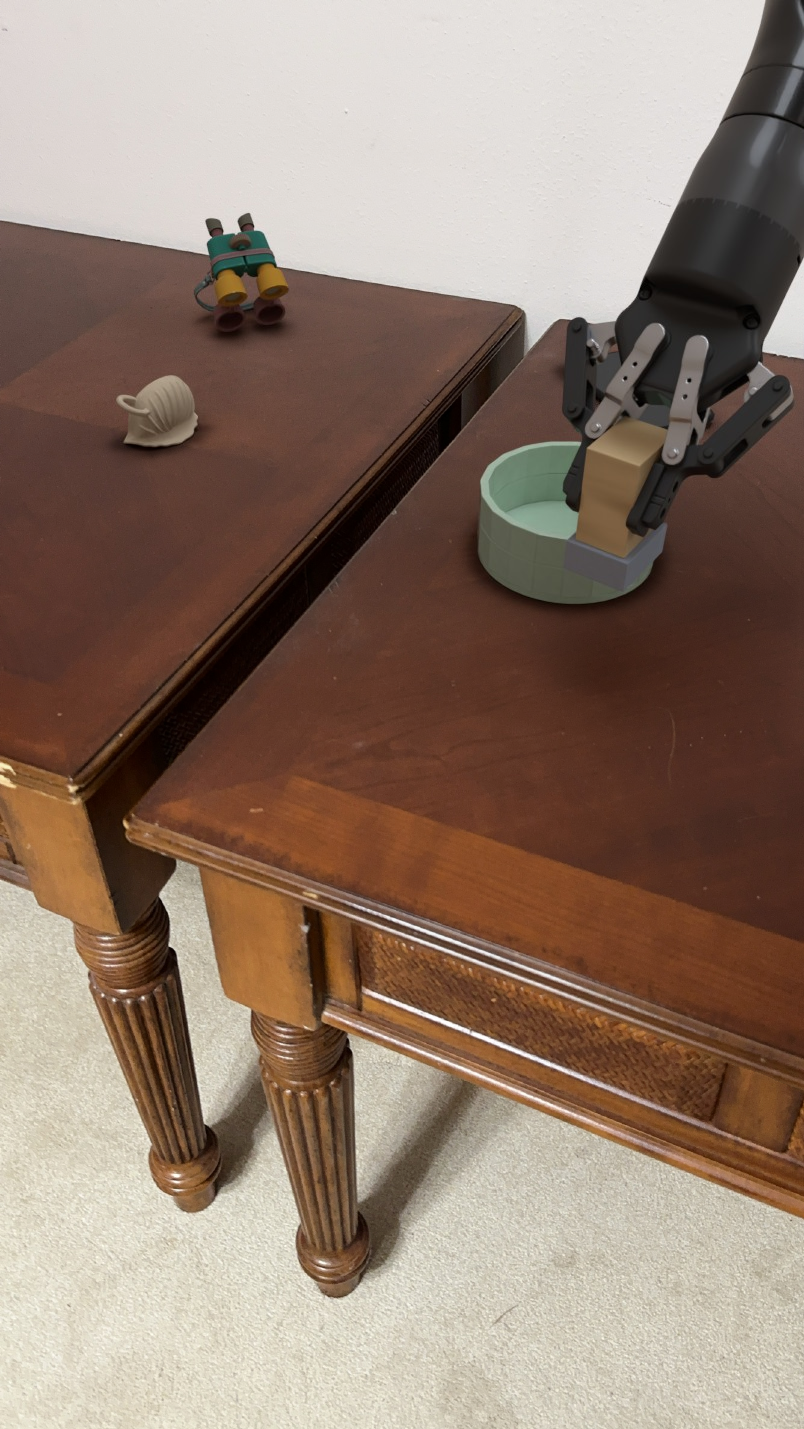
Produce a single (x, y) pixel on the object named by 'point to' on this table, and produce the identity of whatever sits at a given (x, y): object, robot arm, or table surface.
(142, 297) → the table surface
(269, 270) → the binoculars
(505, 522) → the bowl
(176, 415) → the decorative ornament
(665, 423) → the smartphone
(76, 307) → the table surface
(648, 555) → the eraser
